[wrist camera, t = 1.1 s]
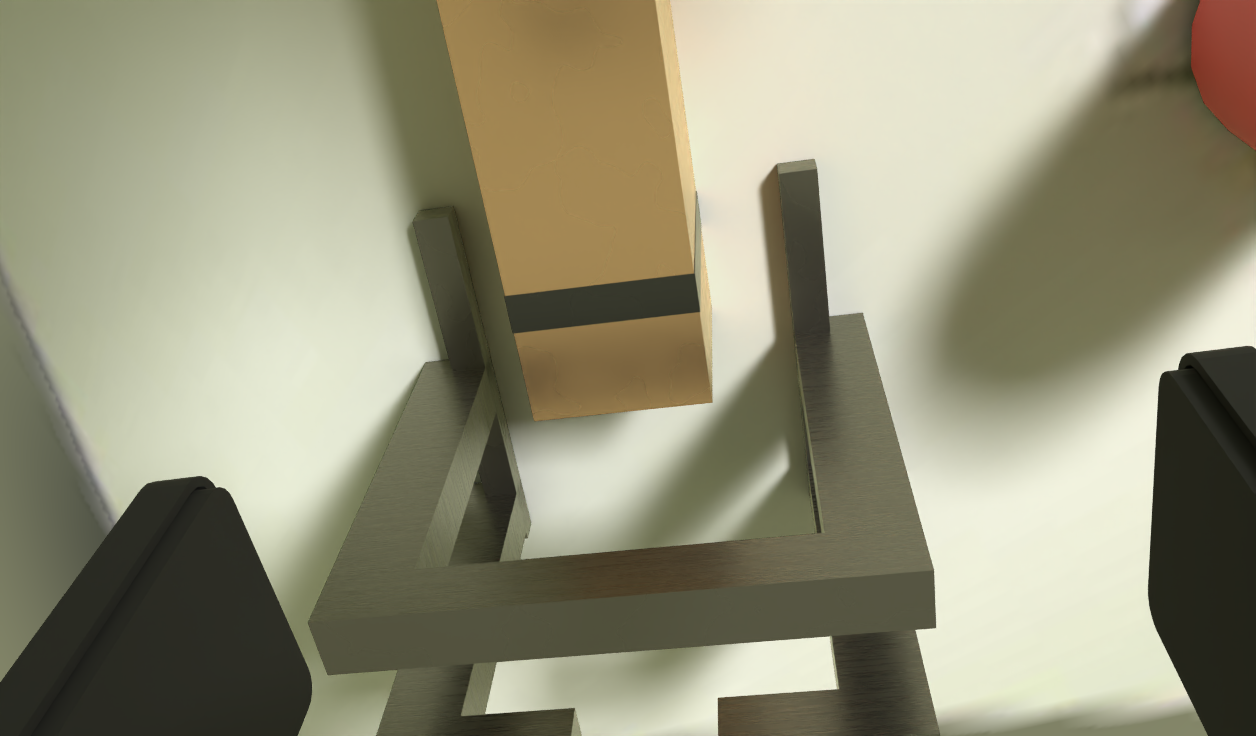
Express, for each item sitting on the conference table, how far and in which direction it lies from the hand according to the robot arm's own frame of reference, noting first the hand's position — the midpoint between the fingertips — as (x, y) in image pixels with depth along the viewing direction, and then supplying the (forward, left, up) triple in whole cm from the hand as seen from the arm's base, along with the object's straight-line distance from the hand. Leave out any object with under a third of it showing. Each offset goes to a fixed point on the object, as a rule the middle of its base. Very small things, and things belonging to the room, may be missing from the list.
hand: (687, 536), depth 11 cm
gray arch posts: (+9, -3, -20) cm, 22 cm away
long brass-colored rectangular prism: (-3, -3, -20) cm, 21 cm away
